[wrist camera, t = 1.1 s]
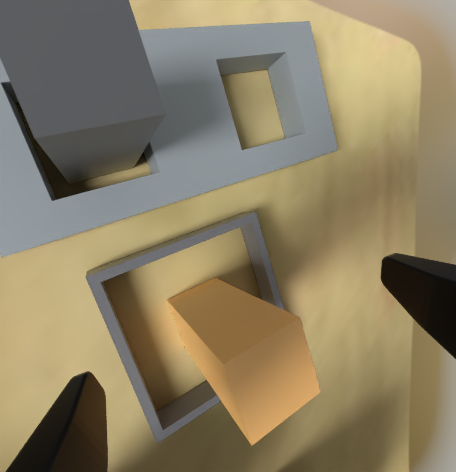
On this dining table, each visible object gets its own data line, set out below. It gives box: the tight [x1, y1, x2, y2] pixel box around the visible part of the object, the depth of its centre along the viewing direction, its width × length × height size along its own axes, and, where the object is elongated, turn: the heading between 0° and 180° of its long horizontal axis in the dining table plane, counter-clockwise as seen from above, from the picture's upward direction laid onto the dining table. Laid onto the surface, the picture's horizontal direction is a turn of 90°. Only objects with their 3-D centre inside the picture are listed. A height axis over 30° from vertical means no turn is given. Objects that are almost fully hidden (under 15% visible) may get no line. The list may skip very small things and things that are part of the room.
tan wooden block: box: [167, 278, 321, 445], centre depth 16 cm, size 4×4×10 cm
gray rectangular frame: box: [0, 21, 338, 257], centre depth 18 cm, size 10×24×2 cm, turn 109°
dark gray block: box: [0, 0, 166, 184], centre depth 13 cm, size 4×4×10 cm
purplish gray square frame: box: [86, 212, 284, 444], centre depth 20 cm, size 12×12×2 cm
